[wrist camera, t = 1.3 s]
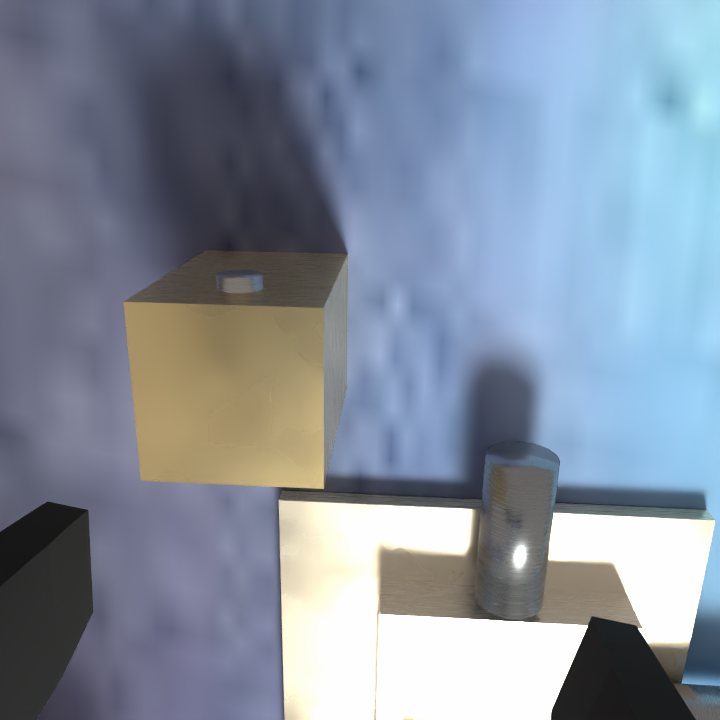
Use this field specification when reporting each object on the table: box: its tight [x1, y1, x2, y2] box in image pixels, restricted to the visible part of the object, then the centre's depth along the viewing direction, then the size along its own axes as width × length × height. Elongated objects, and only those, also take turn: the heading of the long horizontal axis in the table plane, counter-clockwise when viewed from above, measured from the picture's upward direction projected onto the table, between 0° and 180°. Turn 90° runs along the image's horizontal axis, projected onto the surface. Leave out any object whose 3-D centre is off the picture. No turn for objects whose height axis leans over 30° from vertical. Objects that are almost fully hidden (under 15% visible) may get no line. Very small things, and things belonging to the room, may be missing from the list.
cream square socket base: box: [279, 441, 720, 720], centre depth 22 cm, size 16×15×3 cm
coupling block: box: [124, 250, 348, 489], centre depth 17 cm, size 4×5×6 cm
